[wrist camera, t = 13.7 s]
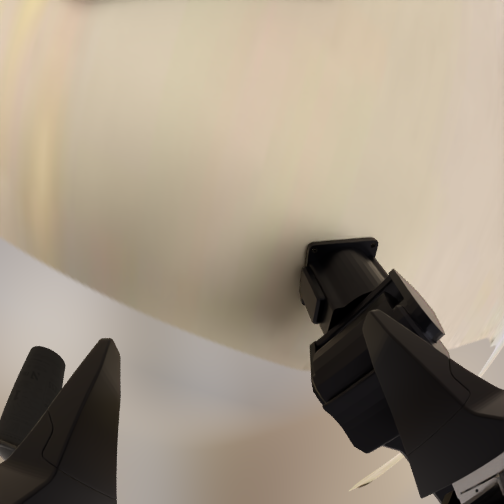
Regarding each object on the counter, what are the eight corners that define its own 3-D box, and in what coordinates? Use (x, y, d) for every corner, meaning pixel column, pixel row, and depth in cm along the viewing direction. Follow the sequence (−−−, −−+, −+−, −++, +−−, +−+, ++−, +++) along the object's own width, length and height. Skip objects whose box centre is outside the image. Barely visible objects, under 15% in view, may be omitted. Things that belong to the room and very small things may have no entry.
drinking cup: (87, 367, 29) (69, 531, 12) (58, 382, 30) (37, 521, 14) (36, 328, 25) (-9, 503, 8) (12, 349, 26) (-25, 493, 10)
